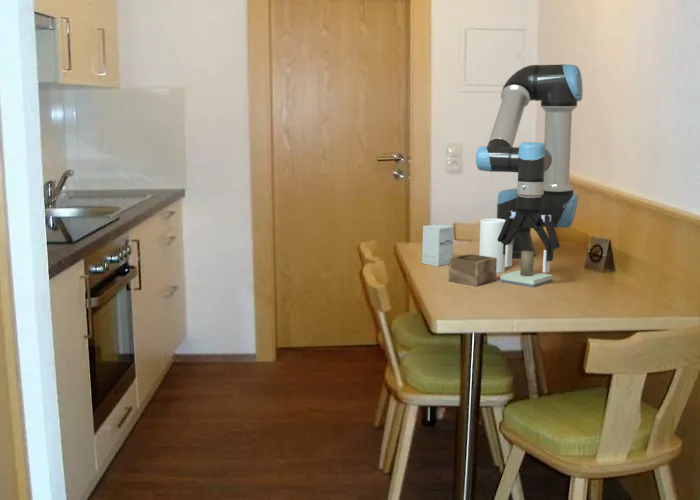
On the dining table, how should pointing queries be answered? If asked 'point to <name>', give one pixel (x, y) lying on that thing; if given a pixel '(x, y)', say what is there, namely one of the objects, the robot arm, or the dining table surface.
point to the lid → (526, 271)
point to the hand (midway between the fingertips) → (526, 269)
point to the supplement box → (437, 244)
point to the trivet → (525, 283)
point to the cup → (492, 241)
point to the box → (472, 269)
